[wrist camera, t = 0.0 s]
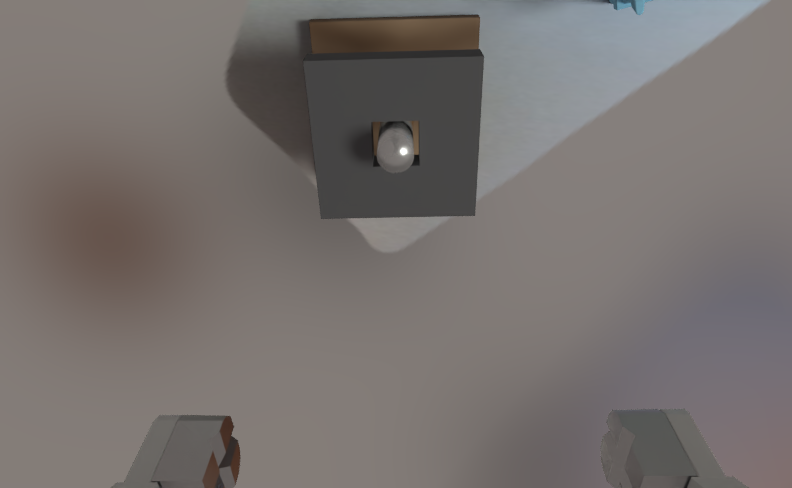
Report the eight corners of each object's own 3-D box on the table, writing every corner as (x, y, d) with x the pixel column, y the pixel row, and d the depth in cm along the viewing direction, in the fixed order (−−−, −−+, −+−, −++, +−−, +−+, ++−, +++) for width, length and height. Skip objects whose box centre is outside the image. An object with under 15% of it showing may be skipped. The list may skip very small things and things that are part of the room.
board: (311, 19, 52) (309, 22, 51) (478, 14, 52) (480, 17, 51) (326, 172, 61) (325, 177, 60) (470, 169, 61) (472, 174, 59)
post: (380, 88, 54) (374, 137, 43) (412, 87, 54) (415, 136, 43) (381, 119, 56) (376, 174, 45) (412, 119, 56) (415, 173, 45)
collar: (307, 53, 44) (303, 61, 42) (479, 49, 44) (483, 56, 42) (324, 205, 52) (321, 218, 50) (471, 202, 52) (475, 215, 49)
